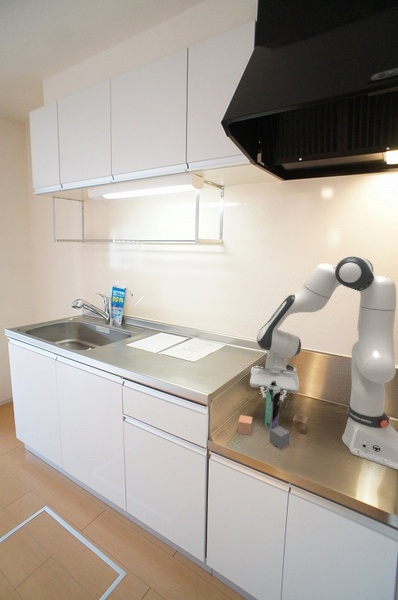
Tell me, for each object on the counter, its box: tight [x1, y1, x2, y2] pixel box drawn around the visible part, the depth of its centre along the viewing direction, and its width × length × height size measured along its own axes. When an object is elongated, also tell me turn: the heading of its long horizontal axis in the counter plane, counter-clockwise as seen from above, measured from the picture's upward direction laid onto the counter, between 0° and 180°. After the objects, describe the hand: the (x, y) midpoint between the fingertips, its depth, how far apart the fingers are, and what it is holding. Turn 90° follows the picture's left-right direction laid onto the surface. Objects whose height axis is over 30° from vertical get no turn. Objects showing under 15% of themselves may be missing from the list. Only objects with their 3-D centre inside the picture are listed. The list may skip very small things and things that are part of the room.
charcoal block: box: [269, 425, 291, 450], centre depth 114 cm, size 5×5×5 cm
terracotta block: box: [237, 414, 253, 436], centre depth 121 cm, size 5×5×5 cm
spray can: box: [264, 381, 281, 431], centre depth 123 cm, size 6×6×20 cm
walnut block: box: [291, 413, 309, 435], centre depth 122 cm, size 5×5×5 cm
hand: (272, 399), depth 122 cm, fingers closed on spray can, 5 cm apart
